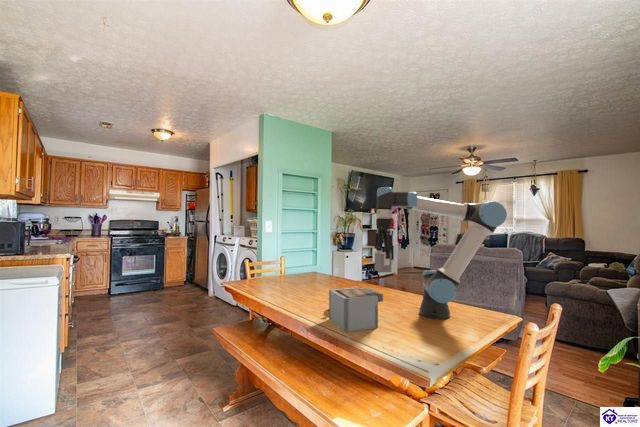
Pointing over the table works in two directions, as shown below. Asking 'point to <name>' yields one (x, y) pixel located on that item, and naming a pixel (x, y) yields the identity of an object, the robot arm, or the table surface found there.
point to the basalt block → (382, 262)
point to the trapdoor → (361, 293)
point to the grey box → (353, 311)
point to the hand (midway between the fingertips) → (382, 264)
